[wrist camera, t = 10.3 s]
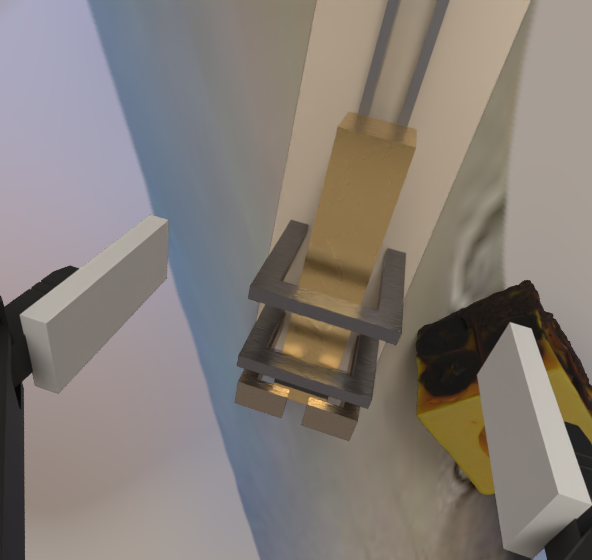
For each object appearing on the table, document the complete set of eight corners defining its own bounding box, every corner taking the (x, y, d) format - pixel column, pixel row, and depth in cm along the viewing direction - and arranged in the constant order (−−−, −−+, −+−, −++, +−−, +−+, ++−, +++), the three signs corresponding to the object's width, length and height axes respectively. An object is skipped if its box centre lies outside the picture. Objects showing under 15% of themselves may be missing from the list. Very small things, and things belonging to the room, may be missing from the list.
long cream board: (369, -265, 21) (362, -304, 19) (619, -219, 20) (650, -253, 18) (255, 336, 44) (244, 357, 41) (370, 373, 42) (367, 397, 40)
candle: (528, 275, 34) (564, 362, 25) (585, 364, 36) (634, 467, 28) (413, 327, 39) (411, 413, 30) (471, 401, 41) (483, 499, 33)
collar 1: (293, 215, 36) (250, 285, 27) (406, 248, 35) (401, 332, 26) (291, 226, 36) (247, 298, 27) (402, 258, 35) (396, 345, 26)
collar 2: (280, 275, 39) (238, 355, 30) (383, 306, 38) (372, 399, 29) (278, 284, 40) (236, 365, 30) (380, 315, 39) (367, 408, 30)
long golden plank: (348, 110, 27) (336, 126, 24) (417, 129, 27) (417, 148, 23) (285, 357, 40) (271, 393, 36) (332, 373, 39) (323, 411, 36)
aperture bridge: (276, 304, 41) (238, 381, 32) (371, 333, 40) (357, 421, 31) (272, 323, 42) (234, 402, 34) (363, 352, 41) (349, 441, 33)
